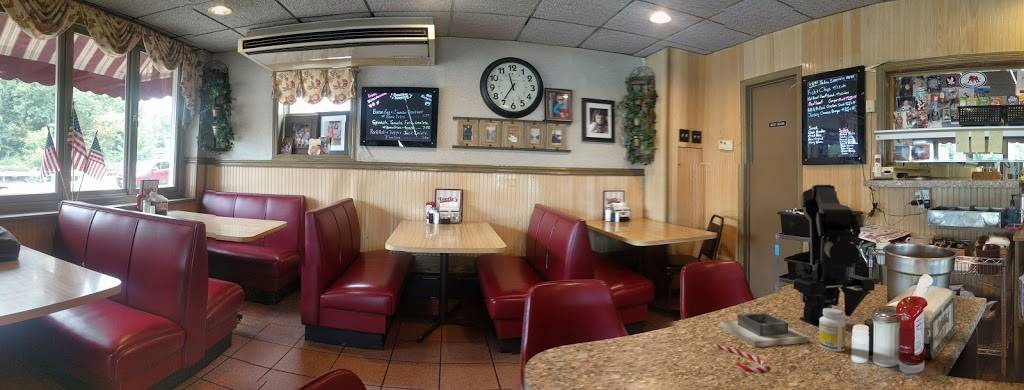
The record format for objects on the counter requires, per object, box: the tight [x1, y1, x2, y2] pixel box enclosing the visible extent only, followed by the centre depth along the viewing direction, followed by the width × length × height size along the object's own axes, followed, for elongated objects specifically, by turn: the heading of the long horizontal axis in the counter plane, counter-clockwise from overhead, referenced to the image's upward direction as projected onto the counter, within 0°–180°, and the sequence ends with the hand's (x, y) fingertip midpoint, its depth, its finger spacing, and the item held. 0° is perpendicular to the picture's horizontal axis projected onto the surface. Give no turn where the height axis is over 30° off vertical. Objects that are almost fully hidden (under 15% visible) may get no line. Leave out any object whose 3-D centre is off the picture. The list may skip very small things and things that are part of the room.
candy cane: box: [712, 343, 769, 374], centre depth 103 cm, size 8×1×15 cm
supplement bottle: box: [818, 308, 847, 352], centre depth 108 cm, size 5×5×10 cm
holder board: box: [719, 312, 809, 348], centre depth 117 cm, size 16×14×4 cm
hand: (832, 317), depth 108 cm, fingers open, 9 cm apart
